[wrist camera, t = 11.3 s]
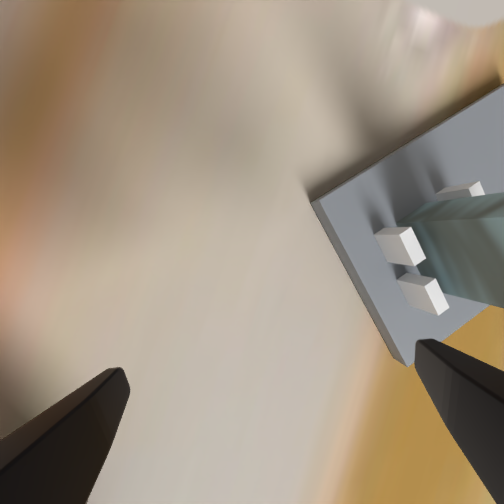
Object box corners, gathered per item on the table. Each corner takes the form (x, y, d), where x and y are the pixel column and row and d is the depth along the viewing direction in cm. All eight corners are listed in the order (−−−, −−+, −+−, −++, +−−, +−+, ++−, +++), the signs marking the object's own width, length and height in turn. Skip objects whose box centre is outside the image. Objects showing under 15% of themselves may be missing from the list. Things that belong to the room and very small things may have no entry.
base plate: (393, 358, 22) (435, 385, 18) (310, 203, 19) (337, 195, 15) (557, 235, 24) (626, 236, 20) (501, 84, 22) (567, 51, 18)
